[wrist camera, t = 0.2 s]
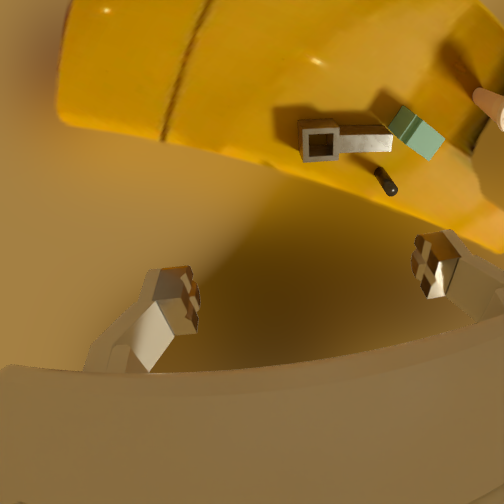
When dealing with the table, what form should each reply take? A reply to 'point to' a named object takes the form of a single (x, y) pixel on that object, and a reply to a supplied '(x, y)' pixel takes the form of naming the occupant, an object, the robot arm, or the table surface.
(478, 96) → the smoothie
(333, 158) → the link
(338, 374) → the robot arm
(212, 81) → the table surface
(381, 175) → the pintle
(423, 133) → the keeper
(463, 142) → the table surface
